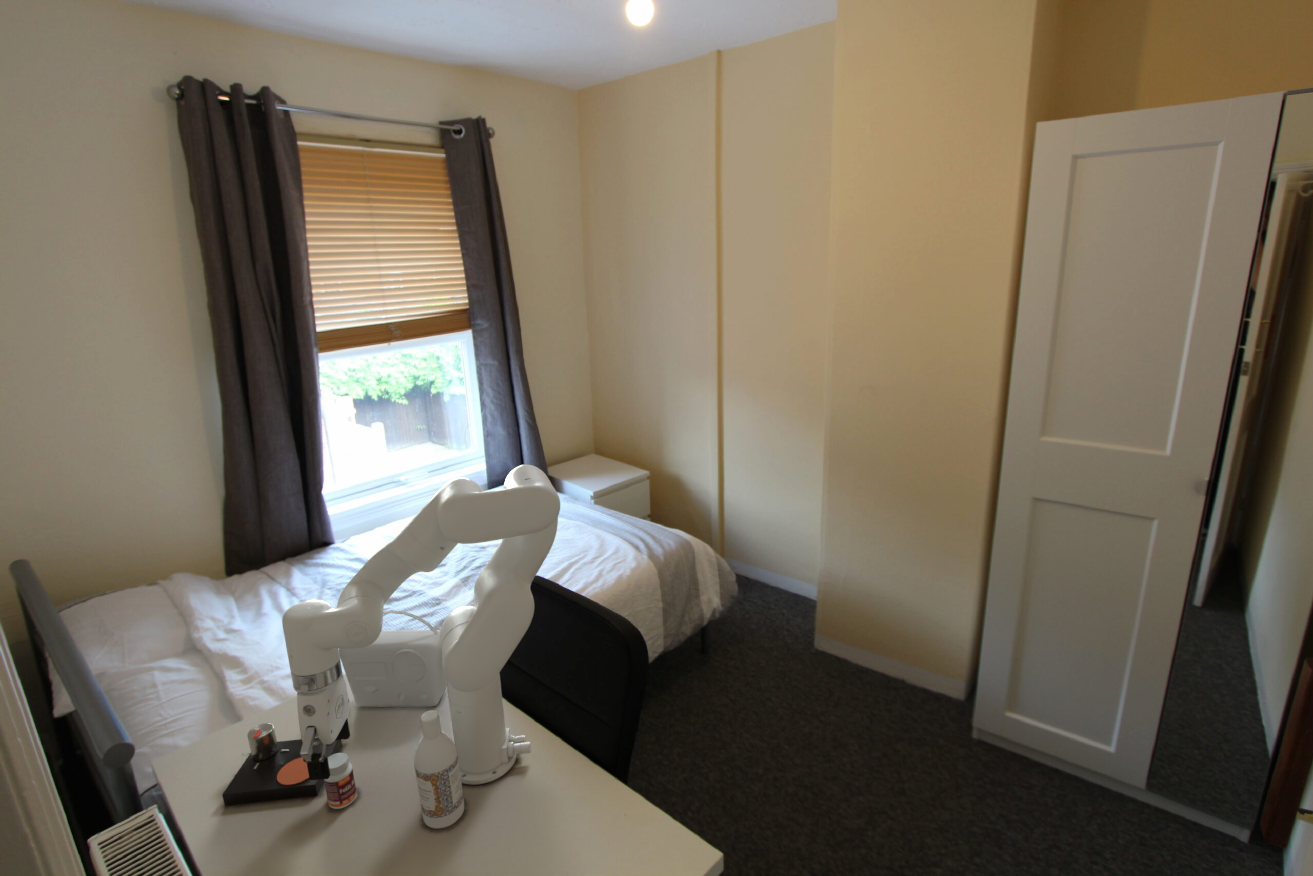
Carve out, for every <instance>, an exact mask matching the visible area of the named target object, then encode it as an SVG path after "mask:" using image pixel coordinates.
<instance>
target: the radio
mask: <svg viewBox="0 0 1313 876" xmlns="http://www.w3.org/2000/svg"><path fill="white" fill-rule="evenodd" d="M386 614H395V615H396V614H397V615H403V616H406V617H410V618H413V619H416V620H417V621H419V622H421V623H422V624H423V625H425V626H427V628H429V629H395V630H392V629H389V630H387V629H386V630H383V629H382V630H381V633H380V635H379V637H378V638H377V639H376V641H374V642H373V643H372V644H370V645H368V646H365V647H362V648H355V649H339V655H340V661H341V666H342V667H343V670H344V673H345V676H346V679H347V682H348V685H349V687H350V690H351V693H352V696H353V700H354V702H355V704H356V706H358V707H360V708H400V707H401V708H405V707H406V708H407V707H409V708H412V707H415V708H416V707H418V708H419V707H421V708H422V707H435V706H438V704H439V702H440V700H441V699H442V697H443V695H444V693H445V692H446V691H447V684H446V677H445V674H444V671H443V665H442V655H441V646H440V631H441V629H436V628H434V626H433V625H432V624H431V623H430V622H428V621H427V620H425V619H423V618H422V617H420V616H419V615H417V614H413V613H411V612H407V611H403V610H383V615H386Z"/></svg>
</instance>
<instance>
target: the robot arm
mask: <svg viewBox="0 0 1313 876" xmlns="http://www.w3.org/2000/svg"><path fill="white" fill-rule="evenodd" d="M502 488H503V489H497V490H491V491H484V489H483V488H482V487H481V485H480V484H478V483H477V482H476V481H474V480H472V479H470V478H467V477H456V478H453V479H451V480H450V479H449V481H447V482H446V483H445V484H443V486H441V488H439V489H438V490H437V492H436V493H435V494H434V495H433V496H432V497H431V498H430V500H429V501H428V502H427V503H426V504H425V505H424V506H423V507H422V508H421V509H420V511H419V512H418V513H416V515H415V516H414V517H413V518H412V519H411V520H410V522H409V523H408V524H407V525H406V526H405V527H404V529H402V530H401V532H400V533H399V534H398V535H397V536H396V537H395V538H394V539H393V540H392V541H390V542H389V543H387V544H386V545H384V546H383V548H381V549H379V550H378V551H377V552H376V553H374V555H372V556H371V557H370V558H369V560H367V561H366V562H365V564H364V565H362V567H361V568H360V569H359V570H358V571H357V573H356V574H355V575H354V576H353V577H352V578H351V579H350V580H349V582H348V583H347V584H346V585H345V586H344V588H343V589H342V590H341V593H340V595H339V597H338V601H337V604H336V607H335V608H334V607H332V606H331V604H330V603H329V602H327V601H325V600H322V599H310V600H304V601H301V602H298V603H295V604H294V605H292V606H290V607H289V608H287V609H286V610H285V611H284V613H283V615H282V617H281V618H282V619H281V624H282V630H283V637H284V641H285V647H286V652H287V659H288V664H289V669H290V676H291V681H292V687H293V690H294V691H295V692H297V693H296V703H297V706H296V707H297V717H298V718H297V719H298V726H299V727H298V728H299V733H300V737H301V739H302V742H303V744H302V748H301V751H300V755H301V757H302V758H303V761H304V762H305V763H307V768H308V773H309V779H310V780H322V779H329V777H330V770H329V764H328V757H325V751H326V744H332V743H333V742H334V741H335V740H349V739H350V737H351V731H350V725H349V719H348V717H349V714H350V712H351V703H350V696H349V691H348V687H347V683H346V679H345V675H344V673H343V669H342V662H341V659H340V655H339V649H355V648H362V647H365V646H368V645H370V644H372V643H373V642H374V641H376V639H377V638H378V637H379V635H380V633H381V631H383V622H384V621H383V620H384V614H383V612H384V607H385V604H386V602H387V601H388V600H389V599H390V598H391V596H392V595H393V594H394V593H395V592H396V591H397V590H398V588H400V586H402V584H403V583H405V581H407V580H408V579H409V578H410V577H412V576H414V575H416V574H418V573H431V572H433V571H435V570H436V569H437V568H438V567H439V566H440V565H441V563H442V562H443V561H444V560H445V559H446V558H447V557H448V555H449V554H450V553H452V551H453V550H454V549H455V548H456V547H457V546H458V544H460V545H470V544H471V545H473V544H479V543H487V542H493V541H499V540H501V541H500V543H499V545H498V546H497V548H496V549H495V551H494V552H493V553H492V555H491V557H489V560H488V561H487V562H486V564H485V565H484V567H483V569H482V570H481V572H480V573H479V574H478V576H477V577H476V579H475V582H474V585H473V594H474V595H473V596H474V601H475V606H474V605H473V606H472V605H465V606H459V607H458V608H456V609H454V610H452V611H450V612H449V614H448V615H447V616H446V617H445V619H444V620H443V622H442V623H441V628H440V630H441V631H440V646H441V655H442V665H443V671H444V674H445V677H446V684H447V687H446V691H447V699H448V706H449V713H450V720H451V727H452V728H451V729H452V734H453V742H454V744H455V747H456V750H457V755H458V762H459V769H460V776H461V783H462V784H465V785H482V784H486V783H487V784H488V783H490V782H493V781H495V780H497V779H499V778H500V777H502V776H504V775H505V774H506V773H507V772H508V771H509V770H510V769H511V768H512V767H513V766H514V765H515V762H516V760H517V757H518V756H517V755H518V754H522V755H523V754H525V755H526V754H531V752H532V744H531V741H526V739H527V738H526V734H524V735H523V734H522V735H516V736H514V735H511V729H510V727H506V720H505V711H504V702H503V693H502V682H501V673H500V672H501V671H502V669H503V668H504V666H505V665H506V663H507V662H508V661H509V659H510V658H511V656H512V654H513V653H514V651H515V650H516V648H517V647H518V645H519V644H520V642H521V641H522V639H523V638H524V636H525V634H526V633H527V631H528V629H529V628H530V626H531V623H532V620H533V617H534V614H535V599H534V596H533V593H532V589H531V585H532V583H533V581H534V579H535V578H536V575H537V574H538V572H539V571H540V569H541V567H542V566H543V563H544V562H545V560H546V559H547V557H548V555H549V553H550V551H551V549H552V547H553V545H554V542H555V539H556V536H557V531H558V525H559V515H560V512H561V500H560V496H559V493H558V492H557V490H556V488H555V487H554V485H553V483H552V482H551V480H550V478H548V476H547V474H546V473H545V472H544V471H543V470H542V469H540V468H539V467H537V466H535V465H532V464H521V465H518V466H516V467H515V468H513V469H512V470H511V471H510V472H509V473H508V474H507V476H506V478H505V481H504V483H503V487H502ZM315 738H319V739H320V740H321V741H314V740H315ZM314 745H320V752H319V753H313V750H312V747H313V746H314Z"/></svg>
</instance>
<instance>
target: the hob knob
mask: <svg viewBox="0 0 1313 876" xmlns="http://www.w3.org/2000/svg"><path fill="white" fill-rule="evenodd" d="M246 737H247V742H248V746H249V748H250V753H251V754H252V758H253V759H254V760H256V761H261V760H265V759H268V758H270V757H272V756H273V755H274V754H275V753H276V752H277V751H278V744H277V742H278V740H277V735H276V731H275V726H274V725H273V724H272V723H270V722H265V723H260V724H258V725H255V726H254V727H252V728H251V729H250V730H248V732H247V735H246Z"/></svg>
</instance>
